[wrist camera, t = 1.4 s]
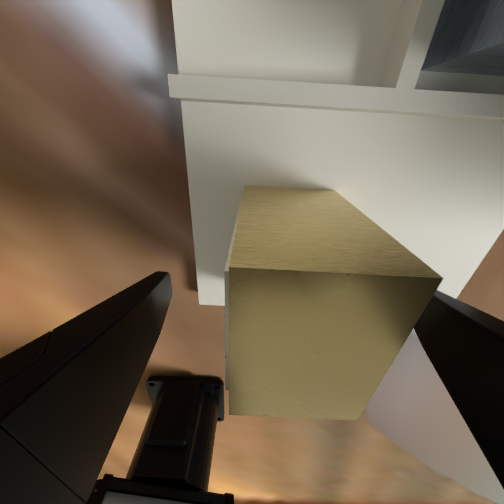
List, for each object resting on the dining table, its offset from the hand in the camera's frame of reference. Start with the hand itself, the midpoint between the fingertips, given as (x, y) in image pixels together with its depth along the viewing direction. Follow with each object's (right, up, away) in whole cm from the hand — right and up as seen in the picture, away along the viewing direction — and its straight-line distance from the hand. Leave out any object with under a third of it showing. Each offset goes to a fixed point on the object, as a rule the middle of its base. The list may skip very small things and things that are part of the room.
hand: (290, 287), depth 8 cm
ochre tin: (0, +2, +3) cm, 3 cm away
